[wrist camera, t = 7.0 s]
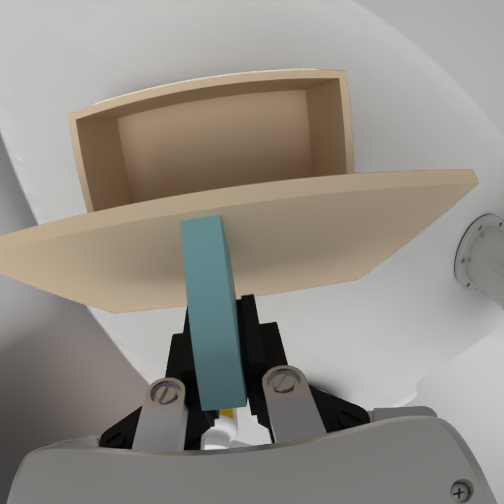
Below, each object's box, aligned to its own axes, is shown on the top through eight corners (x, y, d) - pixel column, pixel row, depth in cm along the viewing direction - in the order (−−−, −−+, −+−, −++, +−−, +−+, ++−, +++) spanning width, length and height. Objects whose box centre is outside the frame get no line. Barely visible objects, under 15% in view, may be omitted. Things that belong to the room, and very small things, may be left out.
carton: (308, 83, 27) (345, 67, 18) (319, 230, 33) (353, 272, 24) (112, 112, 26) (67, 111, 17) (143, 255, 33) (117, 305, 24)
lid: (472, 169, 9) (519, 324, 7) (356, 272, 24) (371, 344, 22) (-30, 245, 8) (-31, 393, 6) (114, 306, 24) (121, 378, 22)
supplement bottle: (183, 367, 40) (176, 442, 29) (228, 361, 40) (232, 437, 29) (197, 395, 43) (195, 465, 31) (238, 389, 43) (244, 460, 31)
